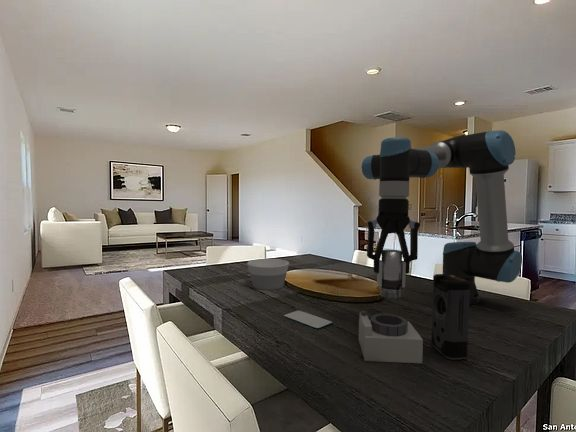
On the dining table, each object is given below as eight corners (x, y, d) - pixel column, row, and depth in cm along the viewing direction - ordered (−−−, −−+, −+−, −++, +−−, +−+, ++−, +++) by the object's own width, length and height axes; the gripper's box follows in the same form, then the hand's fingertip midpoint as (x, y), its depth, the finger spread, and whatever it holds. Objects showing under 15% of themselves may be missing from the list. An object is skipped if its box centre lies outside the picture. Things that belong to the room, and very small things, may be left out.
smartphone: (282, 318, 114) (317, 331, 102) (282, 315, 114) (317, 328, 102) (298, 312, 119) (333, 324, 107) (298, 310, 119) (333, 322, 107)
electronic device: (428, 344, 93) (431, 273, 92) (449, 343, 93) (451, 273, 92) (447, 361, 84) (450, 282, 82) (470, 360, 84) (473, 282, 83)
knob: (398, 293, 91) (399, 249, 90) (403, 299, 86) (404, 252, 85) (378, 292, 91) (379, 249, 91) (382, 298, 86) (383, 252, 85)
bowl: (296, 284, 156) (297, 261, 155) (273, 294, 140) (273, 268, 139) (263, 278, 166) (263, 257, 165) (238, 287, 150) (238, 263, 149)
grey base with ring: (408, 342, 94) (409, 310, 94) (422, 363, 82) (423, 327, 82) (358, 340, 95) (359, 308, 95) (364, 360, 83) (365, 325, 83)
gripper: (424, 198, 90) (421, 283, 91) (356, 197, 92) (354, 280, 93) (434, 198, 83) (431, 290, 84) (360, 197, 84) (357, 287, 85)
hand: (390, 285), depth 88 cm, fingers closed on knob, 5 cm apart
